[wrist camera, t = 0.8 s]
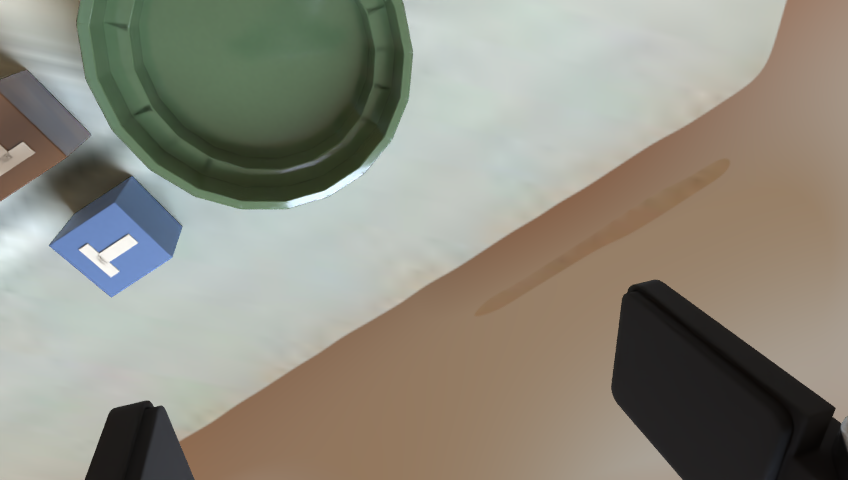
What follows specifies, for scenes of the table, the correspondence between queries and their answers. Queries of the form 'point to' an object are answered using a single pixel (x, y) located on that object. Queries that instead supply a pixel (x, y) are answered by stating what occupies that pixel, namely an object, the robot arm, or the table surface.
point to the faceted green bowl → (250, 91)
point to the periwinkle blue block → (119, 237)
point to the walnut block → (32, 131)
